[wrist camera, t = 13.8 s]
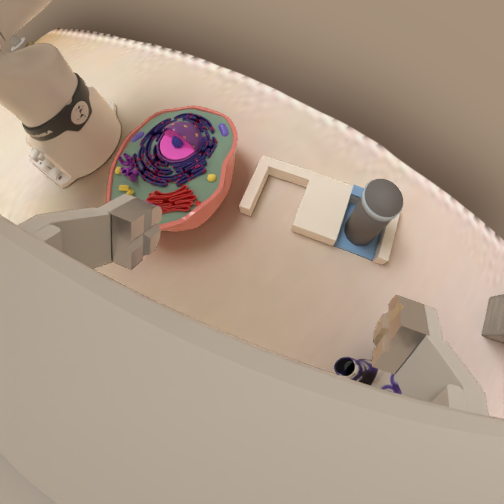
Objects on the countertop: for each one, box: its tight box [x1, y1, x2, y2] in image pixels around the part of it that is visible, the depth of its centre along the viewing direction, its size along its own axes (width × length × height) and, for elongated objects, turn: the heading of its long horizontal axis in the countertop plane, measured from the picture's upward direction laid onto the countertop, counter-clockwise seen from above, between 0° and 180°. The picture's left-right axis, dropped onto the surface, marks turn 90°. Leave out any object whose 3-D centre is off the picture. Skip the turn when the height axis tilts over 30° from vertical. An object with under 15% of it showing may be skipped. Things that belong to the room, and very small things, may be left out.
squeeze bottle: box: [10, 34, 34, 52], centre depth 50 cm, size 8×8×18 cm
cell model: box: [106, 106, 237, 232], centre depth 41 cm, size 17×20×11 cm
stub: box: [344, 179, 403, 246], centre depth 37 cm, size 5×5×11 cm
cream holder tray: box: [239, 155, 400, 265], centre depth 42 cm, size 21×8×3 cm, turn 68°
